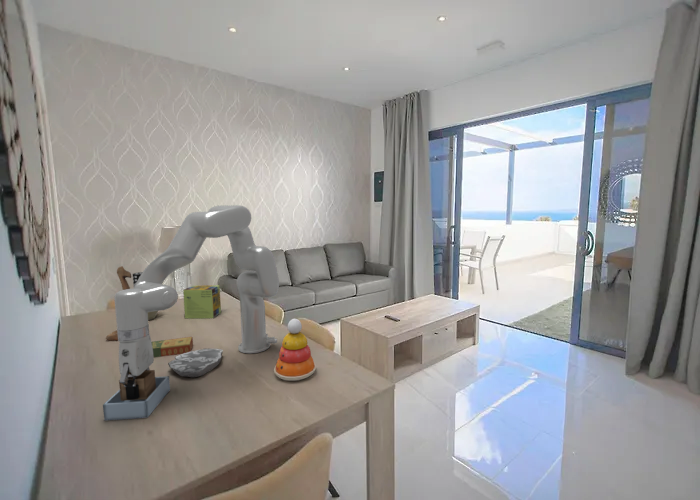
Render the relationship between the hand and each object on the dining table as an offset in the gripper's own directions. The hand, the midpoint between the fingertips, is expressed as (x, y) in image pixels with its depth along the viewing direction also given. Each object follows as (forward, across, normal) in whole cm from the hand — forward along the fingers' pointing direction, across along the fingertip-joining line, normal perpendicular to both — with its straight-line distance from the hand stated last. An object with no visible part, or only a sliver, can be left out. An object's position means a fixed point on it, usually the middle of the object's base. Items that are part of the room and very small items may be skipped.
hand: (138, 392), depth 98 cm
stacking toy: (+4, +14, -44) cm, 46 cm away
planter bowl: (+4, +83, +38) cm, 91 cm away
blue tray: (+4, 0, 0) cm, 4 cm away
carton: (+4, +38, +7) cm, 39 cm away
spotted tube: (+4, +107, +50) cm, 118 cm away
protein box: (+4, +85, +9) cm, 86 cm away
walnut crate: (+1, 0, 0) cm, 1 cm away
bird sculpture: (+4, +58, +34) cm, 67 cm away
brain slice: (+4, +23, -8) cm, 25 cm away
